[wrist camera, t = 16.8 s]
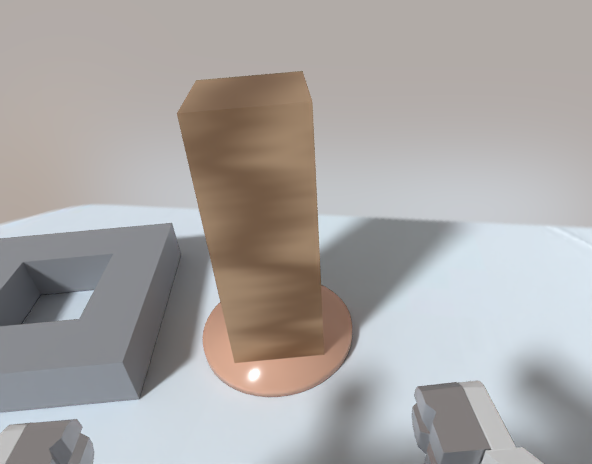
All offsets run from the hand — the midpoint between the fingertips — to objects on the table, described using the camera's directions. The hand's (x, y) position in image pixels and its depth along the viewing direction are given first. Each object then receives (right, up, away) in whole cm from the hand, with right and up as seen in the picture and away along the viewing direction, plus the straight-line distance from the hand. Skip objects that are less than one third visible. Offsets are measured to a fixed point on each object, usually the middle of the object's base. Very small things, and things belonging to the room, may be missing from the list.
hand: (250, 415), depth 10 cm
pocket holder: (-14, -1, +17) cm, 22 cm away
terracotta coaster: (0, -2, +15) cm, 15 cm away
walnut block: (0, -1, +15) cm, 15 cm away
